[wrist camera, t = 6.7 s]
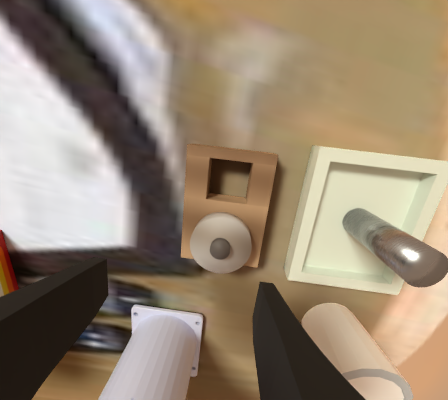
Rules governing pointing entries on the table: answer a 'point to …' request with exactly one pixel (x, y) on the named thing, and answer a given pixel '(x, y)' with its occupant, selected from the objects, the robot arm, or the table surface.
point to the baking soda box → (6, 270)
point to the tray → (366, 199)
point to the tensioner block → (225, 210)
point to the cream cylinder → (355, 353)
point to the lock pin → (397, 248)
